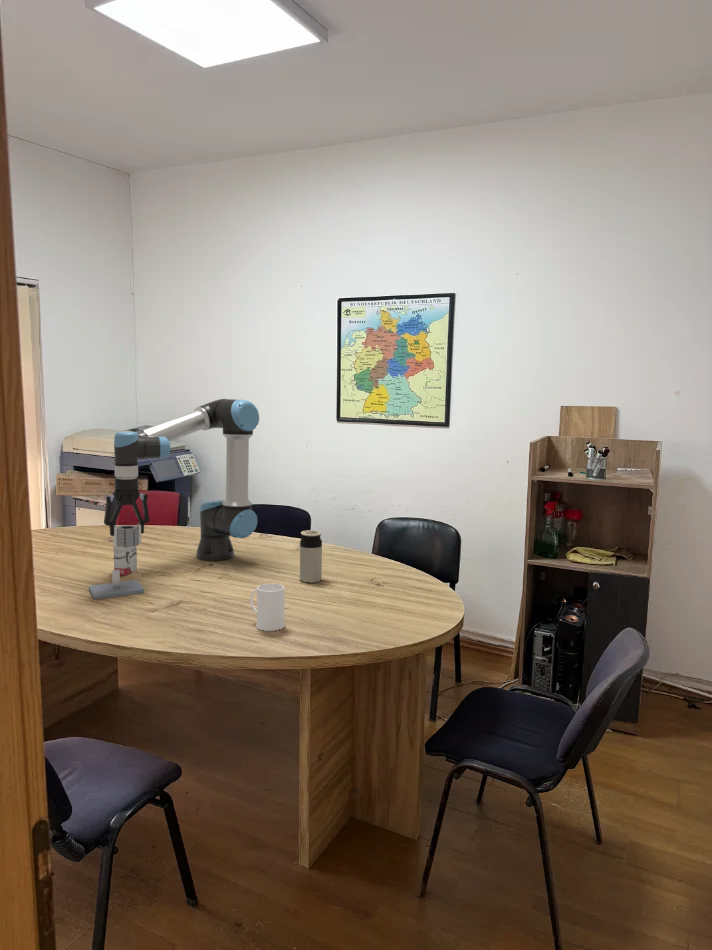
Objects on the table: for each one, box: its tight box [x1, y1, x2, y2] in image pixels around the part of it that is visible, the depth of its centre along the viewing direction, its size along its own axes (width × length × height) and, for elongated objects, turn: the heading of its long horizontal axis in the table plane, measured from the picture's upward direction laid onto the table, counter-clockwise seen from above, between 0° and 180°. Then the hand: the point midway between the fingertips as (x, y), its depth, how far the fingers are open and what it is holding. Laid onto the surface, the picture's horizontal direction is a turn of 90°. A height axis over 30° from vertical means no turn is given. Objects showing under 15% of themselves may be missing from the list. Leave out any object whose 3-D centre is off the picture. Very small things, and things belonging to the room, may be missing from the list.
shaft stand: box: [88, 569, 145, 600], centre depth 225 cm, size 16×12×7 cm
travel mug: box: [299, 529, 323, 583], centre depth 241 cm, size 8×8×18 cm
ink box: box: [112, 544, 138, 577], centre depth 246 cm, size 9×5×12 cm, turn 168°
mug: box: [249, 582, 286, 632], centre depth 197 cm, size 12×8×12 cm
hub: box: [116, 524, 140, 547], centre depth 225 cm, size 7×7×6 cm
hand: (127, 543), depth 225 cm, fingers closed on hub, 7 cm apart
